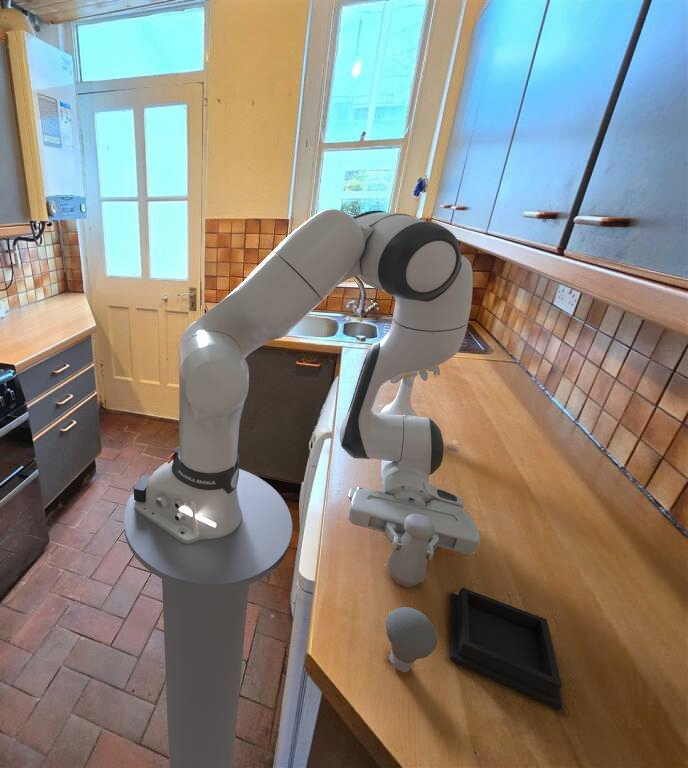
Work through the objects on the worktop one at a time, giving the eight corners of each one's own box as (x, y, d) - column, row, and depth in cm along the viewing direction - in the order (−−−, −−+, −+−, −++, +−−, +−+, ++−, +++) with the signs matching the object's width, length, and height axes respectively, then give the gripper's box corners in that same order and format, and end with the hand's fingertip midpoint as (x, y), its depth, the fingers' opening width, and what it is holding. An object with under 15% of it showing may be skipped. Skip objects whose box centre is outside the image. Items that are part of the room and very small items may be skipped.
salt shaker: (421, 598, 67) (441, 539, 61) (383, 582, 70) (399, 525, 64) (422, 572, 71) (442, 515, 66) (387, 559, 74) (402, 503, 69)
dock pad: (450, 660, 58) (457, 644, 56) (450, 596, 67) (456, 581, 66) (560, 710, 52) (570, 694, 51) (543, 632, 61) (552, 617, 60)
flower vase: (367, 436, 112) (385, 351, 101) (377, 409, 126) (395, 332, 115) (420, 450, 105) (446, 361, 95) (425, 420, 119) (448, 339, 109)
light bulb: (429, 664, 57) (448, 617, 53) (414, 697, 54) (434, 650, 49) (385, 634, 61) (399, 589, 57) (369, 664, 58) (383, 617, 53)
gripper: (351, 473, 81) (348, 519, 69) (473, 500, 73) (492, 557, 62) (346, 498, 83) (342, 546, 72) (463, 526, 76) (479, 586, 64)
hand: (412, 551), depth 67 cm, fingers closed on salt shaker, 3 cm apart
